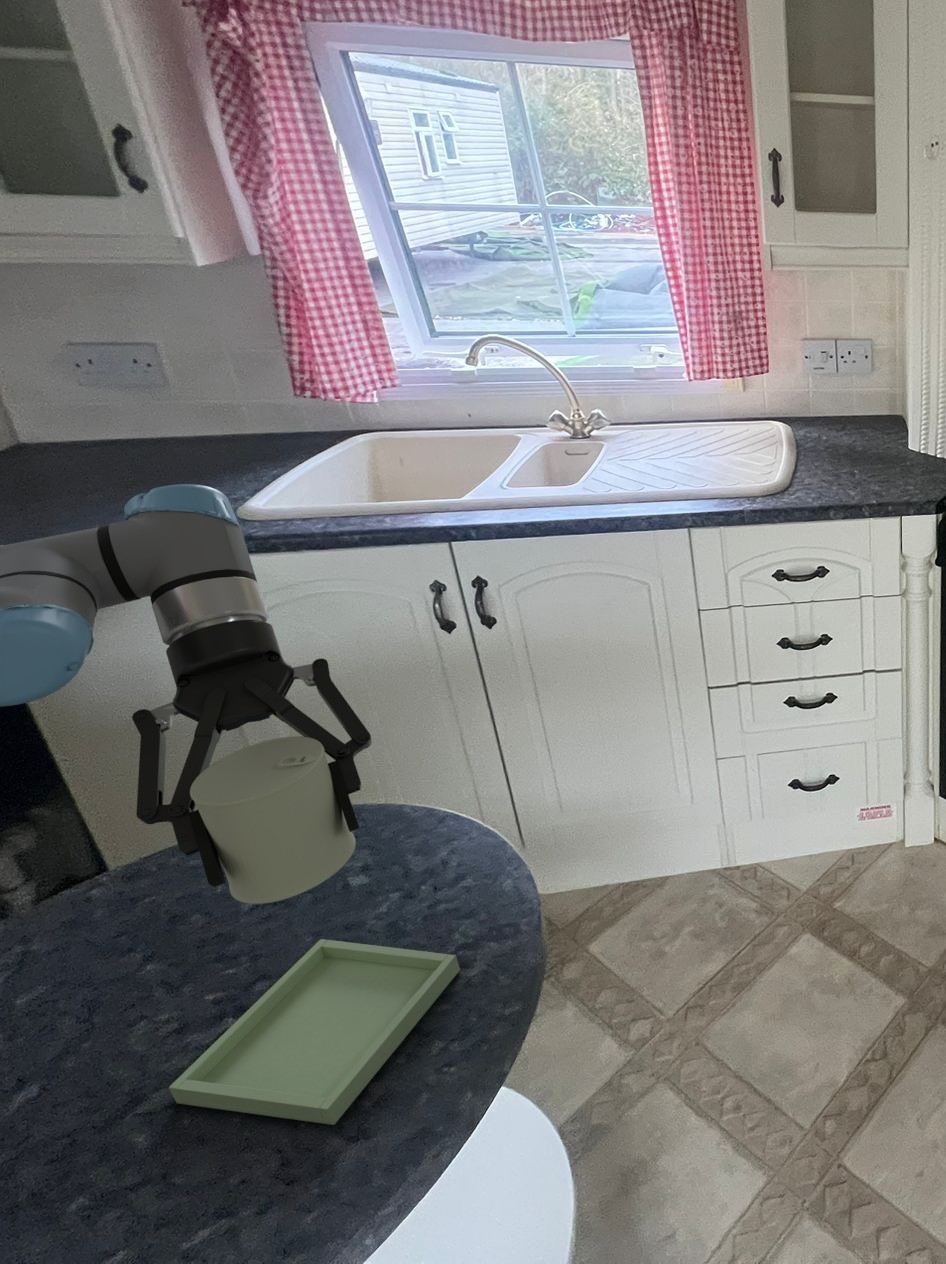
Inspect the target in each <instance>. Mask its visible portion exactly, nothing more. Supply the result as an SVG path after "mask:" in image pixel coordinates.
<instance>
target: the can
mask: <svg viewBox="0 0 946 1264" xmlns="http://www.w3.org/2000/svg"><path fill="white" fill-rule="evenodd" d="M328 763H329V762H328V761H327V757H326V753H325V752H324V747H323V745H322V744H321V743H320V742H319V741H317V740H315V739H313V738H309V737H304V736H284V737H278V738H273V739H269V740H264V741H261V742H257V743H255V744H252V745H248V746H246V747H243V748H241V749H238V750H236V751H234V752H231V753H230V754H227V755H225V756H223V757H222V758H220V759H218V760H217V761H215V762H213V763H212V764H210V765H209V767H208V768H207V769H205V770H204V771H203V772H202V773H201V774H200V775H199V776H198V777H197V778H196V779H195V781H194V782H193V784H192V785H191V788H190V796H191V798H192V799H193V801H194V802H195V804H196V805H195V807H196V808H197V810H199V813H200V815H201V817H202V820H203V822H204V824H205V826H206V828H207V831H208V833H209V835H210V838H211V840H212V842H213V845H214V847H215V850H216V852H217V854H218V858H219V861H220V864H221V868H222V870H223V872H224V874H225V876H226V879H227V882H228V890H229V893H230V895H231V897H232V898H234V899H235V900H236V901H238V902H240V903H242V904H250V905H264V904H270V903H275V902H280V901H283V900H286V899H290V898H294V897H296V896H298V895H301V894H303V893H305V892H307V891H309V890H311V889H313V888H315V887H317V886H319V885H321V884H322V883H324V882H325V881H327V880H328V879H330V878H331V877H333V876H334V875H335V874H337V873H338V872H339V871H340V870H341V869H342V868H343V867H344V866H345V865H346V864H347V862H348V861H350V859H351V857H352V856H353V854H354V852H355V849H356V845H357V842H356V840H357V839H356V836H355V835H354V833H353V831H351V832H349V829H348V826H347V823H346V820H345V817H344V814H343V811H342V808H341V805H340V802H339V799H338V796H337V793H336V790H335V787H334V784H333V781H332V778H331V773H330V770H329V766H328Z"/></svg>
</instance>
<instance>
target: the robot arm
mask: <svg viewBox="0 0 946 1264" xmlns="http://www.w3.org/2000/svg"><path fill="white" fill-rule="evenodd" d="M123 511H124V516H123V517H122V519H123V520H122V521H117V522H112V523H110V524H109V525H101V526H98V527H92V528H87V529H81V530H77V531H72V532H71V531H70V532H67V533H61V534H56V535H51V536H46V537H45V536H44V537H40V538H36V539H30V540H25V541H19V542H14V543H9V544H5V545H3V544H0V707H12V706H17V705H23V704H27V703H31V702H34V701H38V700H41V699H43V698H45V697H49V696H51V695H52V694H54V693H57V692H58V691H59V690H61V689H62V688H64V687H65V686H66V685H68V684H69V683H70V682H72V681H73V679H74V678H75V677H76V676H77V674H79V672H80V670H81V669H82V667H83V665H84V663H85V661H86V658H87V656H89V654H90V652H91V651H92V648H93V646H94V641H95V639H94V636H93V635H94V627H95V621H96V616H97V613H98V610H101V609H105V608H110V607H113V606H118V605H122V604H126V603H130V602H134V601H137V600H141V599H143V598H148V597H150V602H151V608H152V611H153V614H154V618H155V621H156V625H157V627H158V631H159V634H160V637H161V641H162V643H164V644H165V645H167V648H166V650H165V653H166V657H167V660H168V663H169V667H170V671H171V673H172V677H173V680H174V684H175V688H176V689H175V690H176V691H175V695H174V697H173V699H172V701H171V702H169V703H166V704H163V705H161V706H158V707H155V708H153V709H147V708H142V709H138V710H136V711H135V712H134V713H133V714H132V716H131V719H132V722H133V723H134V725H135V727H136V729H137V731H138V733H139V736H140V743H139V758H138V759H139V760H138V761H139V762H138V777H137V779H138V780H137V795H136V796H137V798H136V818H138V820H140V821H141V822H143V823H144V824H146V825H155V824H158V823H171V825H172V830H173V831H174V835H175V839H176V843H177V846H178V849H179V851H181V852H182V853H183V854H184V855H186V856H187V857H188V856H190V855H193V854H196V853H199V855H200V859H201V863H202V866H203V869H204V872H205V875H206V879H207V882H208V884H209V885H210V886H211V887H213V888H216V887H217V886H220V885H223V884H226V882H227V881H226V878H225V875H224V870H223V867H222V864H221V862H220V859H219V857H218V854H217V852H216V850H215V847H214V845H213V842H212V840H211V838H210V835H209V833H208V831H207V828H206V826H205V824H204V822H203V820H202V817H201V815H200V813H199V810H198V809H196V810H195V808H196V804H195V802H194V801H193V799H192V798H191V796H190V788H191V785H192V784H193V782H194V781H195V779H196V778H197V777H198V776H199V775H200V774H201V773H202V772H203V771H204V770H205V769H207V768H208V767H209V766H211V762H212V759H213V756H214V753H215V751H216V747H217V745H218V744H219V742H220V740H221V737H222V734H223V731H226V732H229V731H232V730H235V729H238V728H240V727H242V726H244V725H246V724H248V723H254V722H261V721H265V720H267V719H270V718H271V716H272V715H273V716H274V717H276V718H277V719H278V720H280V721H281V722H283V723H285V724H286V725H287V726H289V727H290V728H292V729H293V730H294V731H296V733H298V734H299V735H301V737H309V738H313V739H315V740H317V741H319V742H320V743H321V744H322V745H323V747H324V753H325V755H327V756H329V757H330V758H332V759H333V760H334V761H331V762H327V763H328V766H329V770H330V773H331V778H332V781H333V784H334V787H335V790H336V793H337V796H338V799H339V802H340V805H341V808H342V811H343V814H344V817H345V820H346V823H347V826H348V829H349V832H353V831H356V830H359V829H360V826H359V823H358V818H357V816H356V814H355V811H354V807H353V804H352V801H351V798H350V795H351V794H353V793H356V792H358V791H361V790H362V780H361V778H360V775H359V772H358V769H357V766H356V763H355V757H356V756H357V755H358V754H359V753H361V752H362V751H363V750H366V749H369V748H370V746H371V745H372V744H373V743H372V742H373V741H372V736H371V733H370V732H369V731H368V729H367V728H366V726H365V724H364V723H363V722H362V720H361V719H360V718H359V717H358V715H357V714H356V713H355V711H354V709H353V708H352V707H351V706H350V704H349V702H348V701H347V700H346V698H345V697H344V696H343V694H342V692H341V691H340V690H339V688H338V687H337V686H336V684H335V683H334V682H333V680H332V675H331V671H330V670H331V669H330V667H329V662H328V660H326V658H316V659H315V660H314V661H312V663H309V664H304V665H299V666H294V667H293V666H292V665H291V664H289V663H288V662H286V661H285V659H284V658H283V654H282V651H281V648H280V645H279V642H278V639H277V637H276V633H275V630H274V627H273V625H272V624H271V623H269V622H268V620H269V619H270V616H269V613H268V609H267V607H266V603H265V600H264V596H263V594H262V591H261V587H260V584H259V582H258V580H257V577H256V573H255V570H254V566H253V564H252V563H253V562H252V560H251V557H250V554H249V550H248V546H247V543H246V540H245V536H244V534H243V530H242V528H241V526H240V524H239V522H238V519H237V517H236V514H235V512H234V509H233V507H232V504H231V502H230V500H229V498H228V497H227V496H226V495H225V494H224V493H223V492H221V491H220V490H218V489H216V488H213V487H210V486H207V485H203V484H192V483H191V484H190V483H184V484H183V483H182V484H181V483H180V484H170V485H164V486H158V487H155V488H151V489H150V490H149V492H144V493H143V492H142V493H138V494H137V495H134V496H133V497H132V498H130V499H129V500H128V501H127V503H126V504H125V506H124V508H123ZM295 680H300V681H302V682H303V683H304V685H305V686H306V687H316V690H317V692H318V694H319V696H320V698H321V699H322V700H323V702H324V703H325V704H326V706H327V707H328V709H329V710H330V712H332V714H333V716H334V717H335V719H336V720H337V721H338V723H339V724H340V726H342V728H343V730H344V731H345V732H346V734H347V735H348V736H349V738H350V740H348V741H347V742H343V741H341V740H340V739H339V738H337V737H336V736H335V735H334V734H333V733H331V732H330V731H328V730H327V729H326V728H324V727H323V726H322V725H320V724H319V723H318V722H316V721H315V720H313V719H312V718H311V717H309V716H308V715H307V714H306V713H304V712H303V711H302V710H300V709H299V708H298V707H297V706H295V705H294V703H292V702H291V701H290V700H288V699H287V698H286V696H287V695H288V692H289V691H290V689H291V687H292V686H293V683H294V682H295ZM179 714H180V715H182V716H185V717H186V718H188V719H191V720H193V721H194V722H197V724H196V727H195V730H194V734H193V735H194V736H193V740H192V743H191V746H190V748H189V750H188V751H189V752H188V754H187V757H186V759H185V762H184V765H183V767H182V771H181V773H180V775H179V778H178V781H177V784H176V787H175V790H174V793H173V796H172V797H171V800H170V803H169V804H167V803H166V804H164V796H165V793H164V792H165V775H166V773H165V772H166V753H167V752H166V750H167V738H166V734H165V732H167V731H169V730H170V729H172V727H173V719H174V718H175V717H176V716H177V715H179Z"/></svg>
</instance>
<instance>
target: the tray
mask: <svg viewBox="0 0 946 1264" xmlns="http://www.w3.org/2000/svg"><path fill="white" fill-rule="evenodd" d="M460 971H461V968H460V964H459V961H458V957H457V955H456V954H451V953H450V954H448V953H440V952H433V951H423V950H414V949H407V948H400V947H392V946H391V947H390V946H382V945H375V944H365V943H357V942H349V941H340V940H331V939H323V938H320V939H319V940H318V941H317V942H316V943H315V944H314V945H313V946H312V947H311V948H310V949H309V950H308V951H307V952H306V953H304V955H303V956H302V957H300V959H299V960H298V961H296V962H295V963H294V964H293V965H292V966H291V968H290V969H288V970H287V971H286V972H285V973H284V975H282V976H281V977H280V978H279V979H278V980H277V981H276V982H275V983H274V984H272V985H271V987H270V988H269V989H268V990H267V991H266V992H265V993H264V994H263V995H262V996H261V997H260V998H258V1000H256V1001H255V1002H254V1003H253V1005H252V1006H250V1007H249V1009H247V1010H246V1011H245V1012H244V1013H243V1014H242V1015H241V1016H240V1017H239V1018H238V1019H237V1020H236V1021H235V1022H234V1023H233V1024H232V1025H231V1026H230V1027H228V1029H227V1030H226V1031H225V1032H223V1034H222V1035H221V1036H219V1038H218V1039H217V1040H216V1041H214V1043H213V1044H211V1045H210V1046H209V1047H208V1048H207V1049H206V1050H205V1051H204V1052H203V1053H202V1054H201V1055H200V1056H199V1057H198V1058H197V1059H196V1060H195V1061H194V1062H193V1063H192V1064H191V1065H190V1066H189V1067H188V1068H187V1069H186V1070H185V1071H184V1072H183V1073H182V1074H180V1075H179V1076H178V1078H176V1080H175V1081H173V1082H172V1083H171V1084H170V1085H169V1087H168V1090H169V1092H170V1093H171V1096H172V1098H173V1099H174V1101H175V1103H176V1104H179V1105H186V1106H194V1107H201V1108H208V1109H215V1110H216V1109H217V1110H221V1111H222V1110H223V1111H229V1112H237V1113H243V1114H251V1115H257V1116H258V1115H259V1116H267V1117H274V1118H280V1119H287V1120H294V1121H295V1120H297V1121H303V1122H309V1123H310V1122H311V1123H317V1124H323V1125H324V1124H325V1125H331V1126H334V1125H336V1123H337V1122H338V1121H339V1120H340V1119H341V1118H342V1116H343V1115H344V1114H345V1112H346V1111H347V1110H348V1109H349V1108H350V1107H351V1105H352V1104H353V1103H354V1102H355V1100H356V1099H357V1098H358V1097H359V1096H360V1095H361V1093H362V1092H363V1090H364V1089H365V1088H366V1087H367V1085H368V1084H369V1083H370V1082H371V1080H372V1079H373V1078H374V1077H375V1075H377V1073H378V1072H379V1071H380V1070H381V1068H382V1067H383V1066H384V1064H385V1063H386V1062H387V1061H388V1059H390V1058H391V1056H392V1055H393V1053H394V1052H395V1051H396V1050H397V1049H398V1048H399V1046H400V1045H401V1044H402V1042H403V1041H404V1040H405V1039H406V1037H407V1036H408V1035H409V1034H410V1033H411V1031H412V1030H413V1029H414V1027H415V1026H416V1025H417V1024H418V1022H420V1020H421V1019H422V1017H423V1016H425V1014H426V1013H427V1011H428V1010H429V1009H430V1008H431V1007H432V1005H433V1004H434V1003H435V1002H436V1001H437V999H438V998H439V997H440V996H441V994H443V992H444V990H446V988H447V987H448V986H449V984H450V983H451V982H452V981H453V980H454V978H455V977H456V976H457V974H459V972H460Z"/></svg>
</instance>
